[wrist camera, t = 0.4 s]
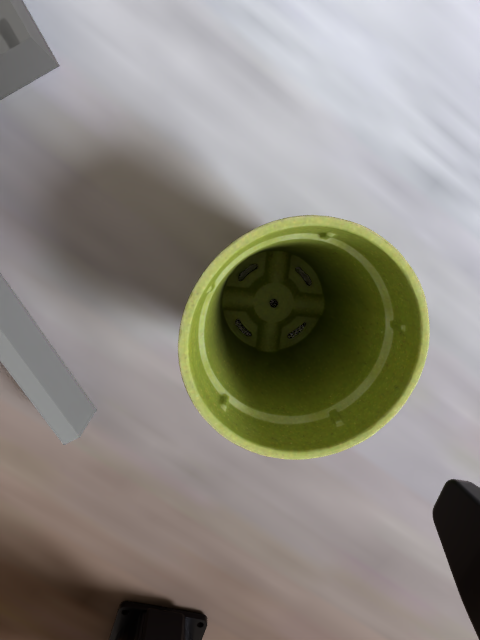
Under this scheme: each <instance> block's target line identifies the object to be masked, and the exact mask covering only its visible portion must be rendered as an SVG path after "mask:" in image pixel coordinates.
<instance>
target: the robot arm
mask: <svg viewBox="0 0 480 640" xmlns="http://www.w3.org/2000/svg"><path fill="white" fill-rule="evenodd" d="M433 520H434V524H435V526H436V529H437V532H438V535H439V538H440V540H441V543H442V546H443V549H444V552H445V555H446V557H447V560H448V563H449V566H450V569H451V572H452V574H453V577H454V580H455V583H456V586H457V588H458V591H459V594H460V596H461V599H462V602H463V604H464V606H465V609H466V611H467V613H468V616H469V618H470V620H471V622H472V625H473V627H474V629H475V631H476V634H477V636H478V638H479V640H480V488H479V487H478V486H476V485H475V484H473V483H471V482H469V481H463V480H456V479H451V480H449V481H447V482H446V484H445V485H444V487H443V489H442V491H441V493H440V495H439V497H438V499H437V501H436V503H435V505H434V508H433ZM206 627H207V617H206V616H205V615H203V614H198V613H192V612H186V611H181V610H175V609H169V608H163V607H157V606H152V605H146V604H140V603H134V602H128V601H125V602H122V603H121V604H120V606H119V609H118V612H117V615H116V619H115V622H114V625H113V628H112V632H111V635H110V638H109V640H202V637H203V635H204V632H205V630H206Z"/></svg>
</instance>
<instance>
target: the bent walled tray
mask: <svg viewBox="0 0 480 640" xmlns="http://www.w3.org/2000/svg"><path fill="white" fill-rule="evenodd" d="M58 66H59V64H58V62H57V61H56V59H55V57H54V55H53V54H52V52H51V50H50V48H49V47H48V45H47V43H46V41H45V39H44V38H43V36H42V34H41V32H40V31H39V29H38V27H37V25H36V24H35V22H34V20H33V18H32V16H31V15H30V13H29V11H28V9H27V8H26V6H25V4H24V2H23V1H22V0H0V100H1V99H3V98H5V97H6V96H8V95H10V94H12V93H13V92H15V91H17V90H18V89H20V88H22V87H24V86H25V85H27V84H29V83H31V82H32V81H34V80H36V79H38V78H39V77H41V76H43V75H44V74H46V73H48V72H50V71H51V70H53V69H55V68H57V67H58ZM0 361H1V363H2V364H3V365H4V367H5V368H6V369H7V371H8V372H9V373H10V375H11V376H12V377H13V379H14V380H15V381H16V383H17V384H18V385H19V387H20V388H21V389H22V390H23V392H24V393H25V394H26V396H27V397H28V398H29V400H30V401H31V402H32V404H33V405H34V406H35V408H36V409H37V410H38V412H39V413H40V414H41V416H42V417H43V418H44V420H45V421H46V422H47V424H48V425H49V426H50V428H51V429H52V430H53V431H54V433H55V434H56V435H57V437H58V438H59V439H60V441H61V442H62V443H63V445H65V444H67V443H69V442H71V441H73V440H75V439H77V438H79V437H80V436H81V434H82V433H83V431H84V430H85V428H86V426H87V425H88V423H89V421H90V420H91V418H92V416H93V415H94V413H95V411H96V409H95V407H94V406H93V404H92V403H91V401H90V400H89V399H88V397H87V396H86V394H85V393H84V392H83V390H82V389H81V387H80V386H79V384H78V383H77V382H76V380H75V379H74V377H73V376H72V374H71V373H70V372H69V370H68V369H67V367H66V366H65V365H64V363H63V362H62V360H61V359H60V357H59V356H58V355H57V353H56V352H55V350H54V349H53V347H52V346H51V345H50V343H49V342H48V340H47V339H46V338H45V336H44V335H43V333H42V332H41V330H40V329H39V328H38V326H37V325H36V323H35V322H34V320H33V319H32V318H31V316H30V315H29V313H28V312H27V311H26V309H25V308H24V306H23V305H22V303H21V302H20V301H19V299H18V298H17V296H16V295H15V293H14V292H13V291H12V289H11V288H10V286H9V285H8V284H7V282H6V281H5V279H4V278H3V276H2V275H1V274H0Z"/></svg>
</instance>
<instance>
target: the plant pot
mask: <svg viewBox="0 0 480 640" xmlns="http://www.w3.org/2000/svg"><path fill="white" fill-rule="evenodd" d="M252 264H257V265H258V268H257V269H255V270H253V271H252V272H250V273H249V274H248V275H247V276H246V277H245V278H244V280H242V281H239V280H238V277H239V274H240V273H241V272H242V271H244V270H245V269H246V268H247V267H248V266H250V265H252ZM296 267H300V268H301V269H302V270H303V271H304V273H305V274H307V275H308V276H309V277H310V279H311V282H312V283H311V286H307V284H306V282H305V281H304V280H303V278H302V277H301V276H300V274H299V273H298V272H296V271H295V268H296ZM272 299H276V300H277V302H278V306H277V307H275V308H273V307H271V306H270V303H269V302H270V301H271V300H272ZM236 319H239V320H240V321H241V323H242V324H243V326H244V327H245V328H246V329H247V330H248V331H249V332H250V333H251V334H252V335H251V336H246V335H245V334H244V333H242V331H241V330H240V329H238V327H237V325H236V322H235V321H236ZM304 322H305V327H304V329H303V330H302V331H301V332H300V333H299V334H298V335H297V336H295V337H293V338H288V337H287V336H288V334H289V333H291V332H292V331H294V330H295V329H297V328H298V327H299V326H300V325H302V324H303V323H304ZM429 333H430V330H429V317H428V308H427V303H426V298H425V295H424V292H423V289H422V287H421V284H420V282H419V280H418V278H417V276H416V274H415V273H414V271H413V269H412V268H411V267H410V265H409V264H408V262H407V261H406V260H405V258H404V257H403V256H402V255H401V254H400V252H399V251H398V250H397V249H396V248H395V247H394V246H392V245H391V244H390V243H389V242H388V241H386V240H385V239H384V238H382V237H381V236H380V235H378V234H377V233H375V232H373V231H372V230H370V229H368V228H366V227H364V226H362V225H360V224H357V223H354V222H351V221H347V220H344V219H339V218H335V217H329V216H318V215H303V216H295V217H288V218H283V219H280V220H276V221H272V222H270V223H267V224H264V225H262V226H259V227H257V228H255V229H253V230H252V231H250V232H248V233H246V234H244V235H243V236H241V237H240V238H238V239H237V240H235V241H234V242H232V243H231V244H230V245H229V246H228V247H226V248H225V249H224V250H223V251H222V252H220V253H219V255H218V256H217V257H216V258H215V259H214V260H213V261H212V262H211V263H210V264H209V266H208V267H207V268H206V270H205V271H204V272H203V274H202V275H201V277H200V278H199V280H198V281H197V283H196V285H195V287H194V288H193V290H192V292H191V294H190V296H189V298H188V301H187V303H186V306H185V309H184V312H183V316H182V320H181V324H180V330H179V340H178V357H179V365H180V371H181V375H182V379H183V382H184V385H185V387H186V390H187V392H188V394H189V396H190V398H191V400H192V402H193V404H194V406H195V407H196V408H197V410H198V412H199V413H200V414H201V416H202V417H203V418H204V419H205V420H206V421H207V422H208V423H209V424H210V425H211V426H212V427H213V428H214V429H215V430H216V431H217V432H218V433H219V434H220V435H222V436H223V437H225V438H226V439H228V440H229V441H231V442H232V443H234V444H236V445H238V446H240V447H242V448H244V449H246V450H249V451H251V452H254V453H257V454H260V455H264V456H267V457H273V458H280V459H295V460H300V459H311V458H318V457H323V456H328V455H331V454H335V453H338V452H341V451H343V450H346V449H348V448H351V447H353V446H355V445H357V444H359V443H361V442H363V441H364V440H366V439H368V438H369V437H371V436H372V435H374V434H375V433H376V432H377V431H379V430H380V429H381V428H382V427H383V426H384V425H386V424H387V423H388V422H389V421H390V420H391V419H392V418H393V417H394V416H395V415H396V414H397V413H398V412H399V410H400V409H401V408H402V406H403V405H404V404H405V403H406V401H407V399H408V397H409V396H410V394H411V393H412V391H413V389H414V388H415V386H416V384H417V382H418V380H419V378H420V376H421V373H422V370H423V368H424V364H425V361H426V357H427V351H428V347H429Z"/></svg>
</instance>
